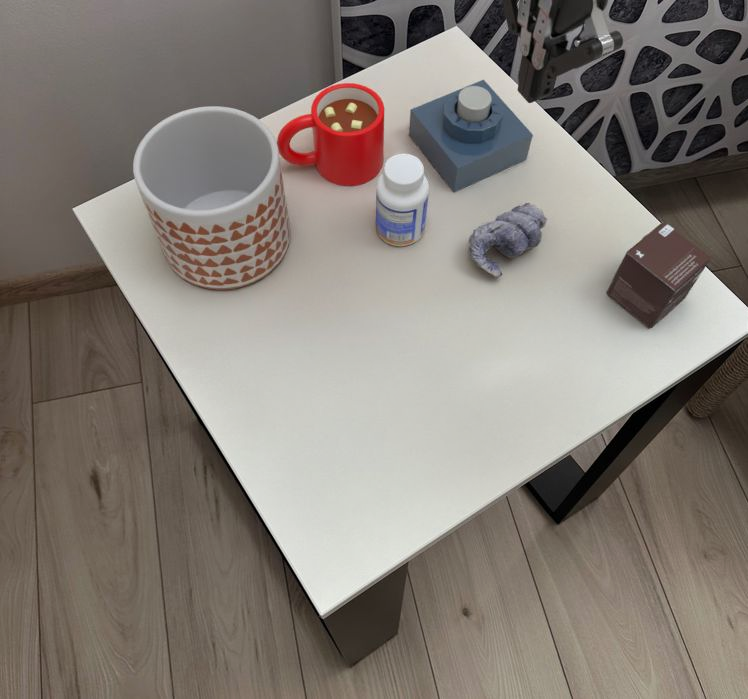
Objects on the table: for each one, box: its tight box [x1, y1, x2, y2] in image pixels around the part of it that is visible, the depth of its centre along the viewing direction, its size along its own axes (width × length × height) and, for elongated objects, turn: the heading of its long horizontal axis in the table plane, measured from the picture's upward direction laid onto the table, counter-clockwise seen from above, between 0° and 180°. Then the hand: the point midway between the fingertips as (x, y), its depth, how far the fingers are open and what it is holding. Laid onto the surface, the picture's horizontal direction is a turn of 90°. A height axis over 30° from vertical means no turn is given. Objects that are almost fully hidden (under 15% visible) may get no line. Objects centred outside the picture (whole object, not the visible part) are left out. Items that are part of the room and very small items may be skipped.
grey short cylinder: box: [457, 85, 492, 123], centre depth 84 cm, size 4×4×2 cm
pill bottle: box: [375, 153, 430, 247], centre depth 80 cm, size 5×5×10 cm
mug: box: [276, 82, 385, 187], centre depth 85 cm, size 8×12×8 cm, turn 106°
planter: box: [132, 105, 291, 291], centre depth 78 cm, size 14×14×13 cm
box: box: [606, 221, 712, 329], centre depth 77 cm, size 6×6×7 cm
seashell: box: [468, 202, 548, 279], centre depth 81 cm, size 5×5×10 cm
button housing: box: [408, 79, 534, 193], centre depth 87 cm, size 10×10×6 cm
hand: (533, 94), depth 62 cm, fingers closed
